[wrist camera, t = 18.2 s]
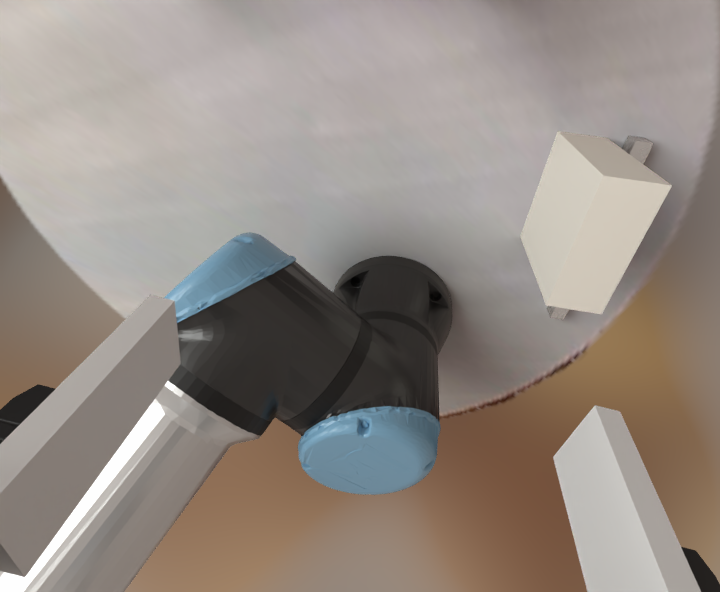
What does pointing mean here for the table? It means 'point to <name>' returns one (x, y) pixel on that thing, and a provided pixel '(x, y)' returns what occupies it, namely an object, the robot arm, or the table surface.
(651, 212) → the carton box
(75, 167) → the table surface
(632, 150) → the rail
